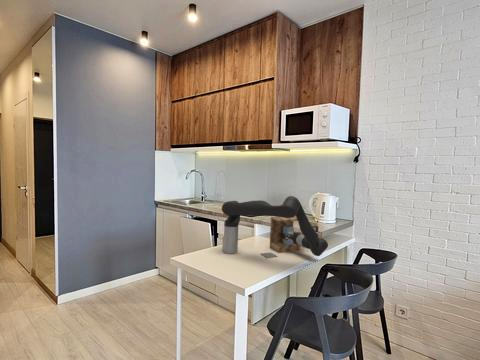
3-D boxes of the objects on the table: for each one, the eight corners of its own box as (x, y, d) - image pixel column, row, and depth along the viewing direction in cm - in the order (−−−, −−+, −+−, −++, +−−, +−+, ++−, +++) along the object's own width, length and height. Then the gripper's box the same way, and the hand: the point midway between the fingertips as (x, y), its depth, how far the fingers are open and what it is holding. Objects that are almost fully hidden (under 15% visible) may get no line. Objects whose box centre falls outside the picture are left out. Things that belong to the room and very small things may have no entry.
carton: (287, 245, 187) (287, 227, 187) (282, 243, 192) (283, 225, 191) (293, 244, 190) (293, 227, 189) (288, 242, 194) (289, 225, 194)
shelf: (278, 252, 183) (279, 220, 182) (269, 248, 193) (270, 217, 192) (300, 250, 191) (302, 218, 190) (290, 245, 201) (292, 216, 200)
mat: (266, 258, 172) (266, 257, 172) (260, 254, 179) (260, 253, 179) (277, 256, 175) (277, 256, 175) (270, 252, 182) (270, 252, 182)
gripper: (310, 233, 180) (295, 227, 195) (292, 234, 174) (278, 229, 189) (310, 244, 181) (294, 238, 195) (292, 246, 175) (277, 240, 189)
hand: (286, 233), depth 192 cm, fingers open, 8 cm apart
